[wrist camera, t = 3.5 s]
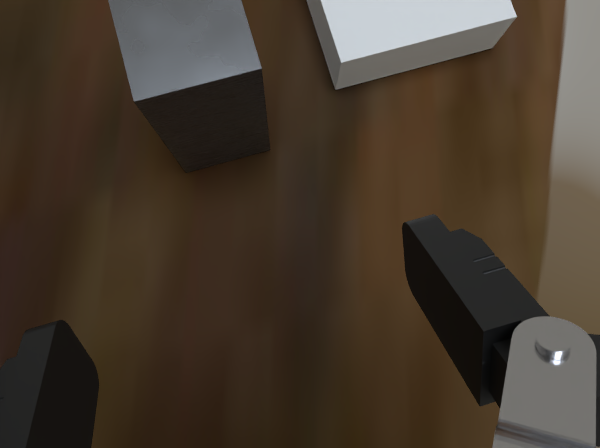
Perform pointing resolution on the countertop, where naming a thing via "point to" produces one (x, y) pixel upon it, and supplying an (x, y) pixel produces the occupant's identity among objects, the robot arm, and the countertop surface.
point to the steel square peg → (195, 77)
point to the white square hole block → (403, 34)
